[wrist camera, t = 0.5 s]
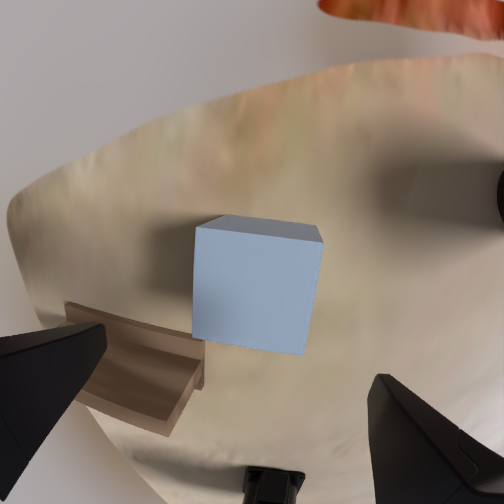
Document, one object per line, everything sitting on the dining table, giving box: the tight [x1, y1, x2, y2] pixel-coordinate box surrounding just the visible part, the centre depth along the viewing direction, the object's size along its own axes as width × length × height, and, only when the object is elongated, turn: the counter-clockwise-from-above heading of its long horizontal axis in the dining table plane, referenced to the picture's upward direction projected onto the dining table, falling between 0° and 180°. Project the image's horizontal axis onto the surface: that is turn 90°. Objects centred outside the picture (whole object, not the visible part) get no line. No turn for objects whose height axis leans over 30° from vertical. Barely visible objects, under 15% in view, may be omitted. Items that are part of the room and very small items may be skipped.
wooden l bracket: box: [57, 302, 205, 437], centre depth 19 cm, size 5×14×8 cm, turn 85°
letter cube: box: [192, 215, 324, 356], centre depth 17 cm, size 6×6×6 cm
